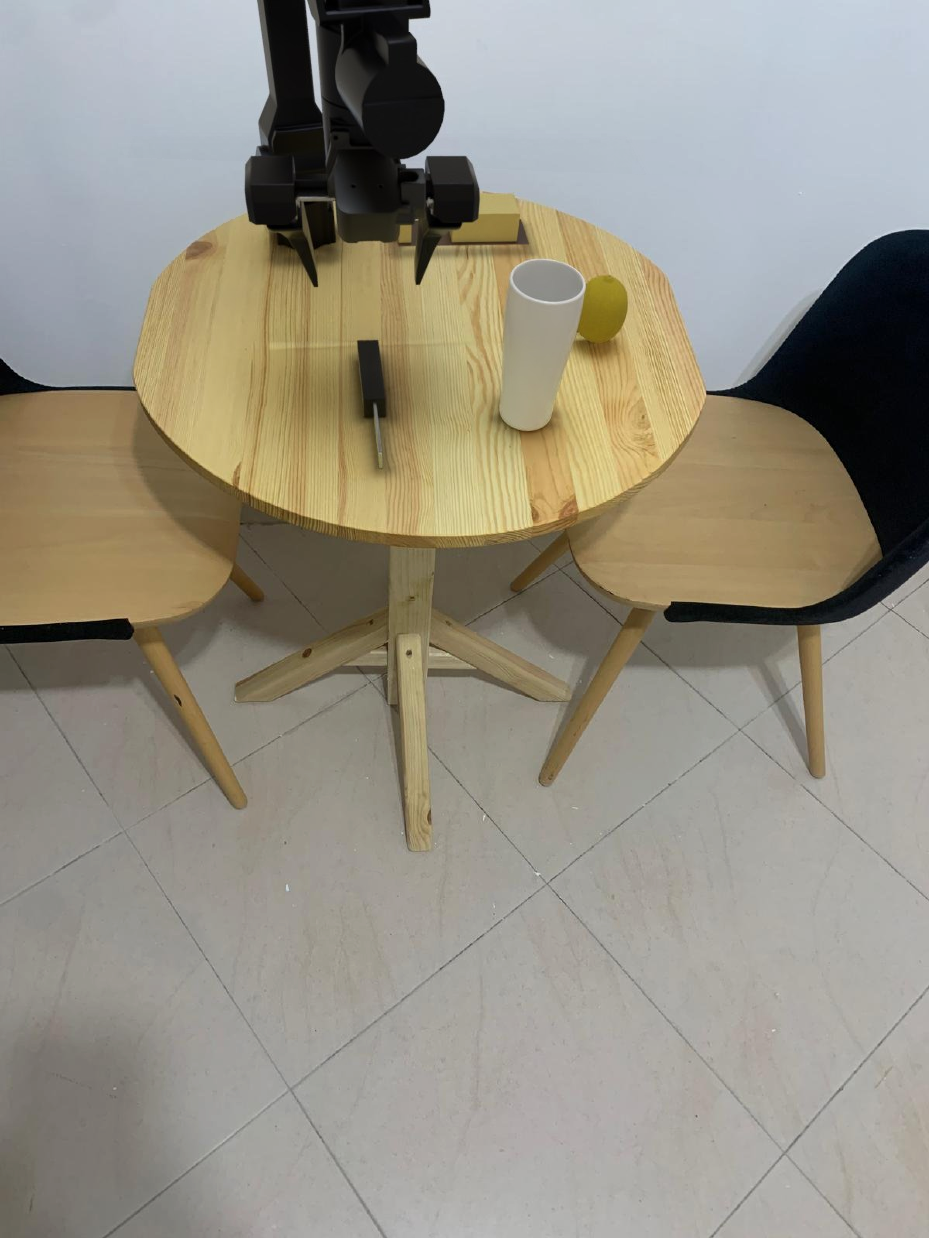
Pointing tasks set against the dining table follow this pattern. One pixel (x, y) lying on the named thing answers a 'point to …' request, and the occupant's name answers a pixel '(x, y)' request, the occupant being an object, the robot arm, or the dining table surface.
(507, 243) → the board
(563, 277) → the drinking glass
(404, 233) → the butter slice
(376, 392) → the knife
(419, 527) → the dining table surface
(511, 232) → the butter stick
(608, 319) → the lemon
